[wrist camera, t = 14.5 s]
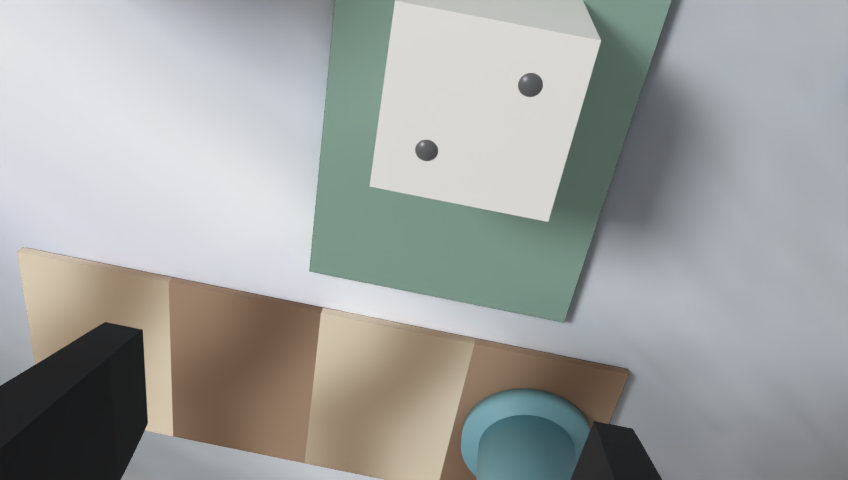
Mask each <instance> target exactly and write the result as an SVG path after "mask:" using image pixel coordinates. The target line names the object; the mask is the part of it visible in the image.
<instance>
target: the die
mask: <svg viewBox="0 0 848 480" xmlns="http://www.w3.org/2000/svg"><path fill="white" fill-rule="evenodd" d="M600 43H601V39H600V37H599V35H598V33H597V30H596V28H595V26H594V24H593V21H592V19H591V17H590V15H589V13H588V10H587V8H586V6H585V4H584V2H583V0H395V4H394V11H393V18H392V26H391V33H390V40H389V47H388V55H387V62H386V69H385V77H384V84H383V91H382V99H381V106H380V113H379V120H378V128H377V135H376V142H375V150H374V157H373V164H372V172H371V179H370V186H369V187H375V188H380V189H385V190H390V191H395V192H400V193H405V194H410V195H415V196H420V197H425V198H430V199H435V200H440V201H445V202H450V203H455V204H460V205H465V206H470V207H475V208H480V209H485V210H491V211H496V212H501V213H506V214H511V215H516V216H521V217H526V218H531V219H536V220H541V221H546V222H548V221H549V217H550V214H551V210H552V207H553V204H554V200H555V197H556V193H557V190H558V187H559V183H560V180H561V176H562V173H563V169H564V166H565V163H566V159H567V156H568V152H569V149H570V145H571V142H572V139H573V135H574V132H575V128H576V125H577V122H578V118H579V115H580V111H581V108H582V104H583V101H584V98H585V94H586V91H587V87H588V84H589V80H590V77H591V74H592V70H593V67H594V63H595V60H596V57H597V53H598V50H599V46H600Z"/></svg>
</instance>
